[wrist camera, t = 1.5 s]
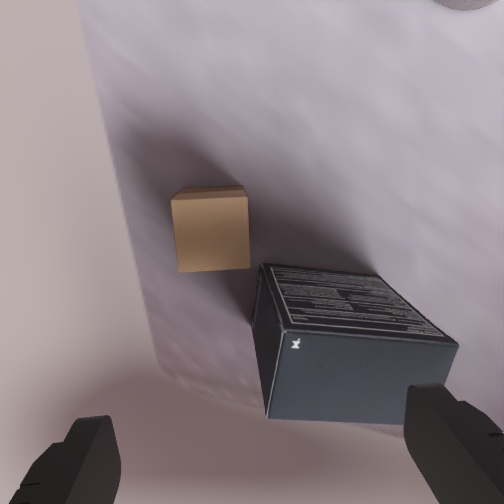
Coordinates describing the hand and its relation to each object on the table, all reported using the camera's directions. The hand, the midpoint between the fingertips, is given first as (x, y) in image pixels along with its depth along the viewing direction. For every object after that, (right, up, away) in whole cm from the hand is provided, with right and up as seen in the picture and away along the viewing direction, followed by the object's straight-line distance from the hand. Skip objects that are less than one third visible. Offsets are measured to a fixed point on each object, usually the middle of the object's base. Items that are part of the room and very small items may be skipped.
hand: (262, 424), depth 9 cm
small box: (+5, 0, +20) cm, 21 cm away
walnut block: (-3, +7, +17) cm, 19 cm away
